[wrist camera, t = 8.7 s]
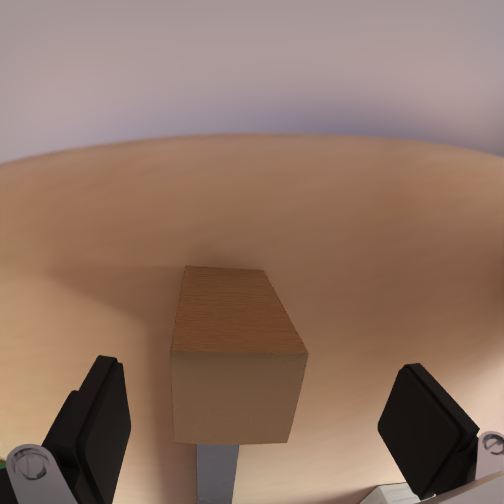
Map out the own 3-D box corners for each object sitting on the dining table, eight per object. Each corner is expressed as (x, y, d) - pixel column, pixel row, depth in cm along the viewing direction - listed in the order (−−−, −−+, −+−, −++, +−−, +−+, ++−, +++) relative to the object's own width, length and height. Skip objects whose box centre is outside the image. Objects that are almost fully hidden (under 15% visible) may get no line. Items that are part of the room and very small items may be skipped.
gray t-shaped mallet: (263, 270, 17) (308, 353, 9) (232, 512, 23) (242, 580, 15) (185, 266, 16) (170, 349, 9) (189, 511, 22) (191, 581, 14)
